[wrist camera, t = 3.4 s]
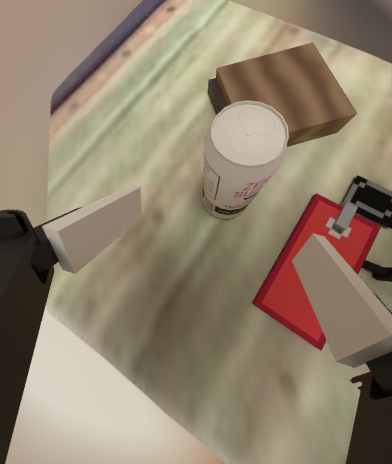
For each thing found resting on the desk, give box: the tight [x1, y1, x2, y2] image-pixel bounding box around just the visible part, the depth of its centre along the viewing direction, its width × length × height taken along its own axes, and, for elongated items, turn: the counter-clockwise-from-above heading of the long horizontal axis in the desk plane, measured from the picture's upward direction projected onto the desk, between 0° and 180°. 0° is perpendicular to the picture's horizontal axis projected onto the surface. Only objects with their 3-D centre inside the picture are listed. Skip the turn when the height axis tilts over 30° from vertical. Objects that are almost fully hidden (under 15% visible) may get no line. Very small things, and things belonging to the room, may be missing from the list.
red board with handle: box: [252, 176, 392, 351], centre depth 25 cm, size 30×3×15 cm
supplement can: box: [203, 101, 289, 219], centre depth 21 cm, size 8×8×15 cm
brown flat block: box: [208, 43, 357, 147], centre depth 30 cm, size 22×18×4 cm
